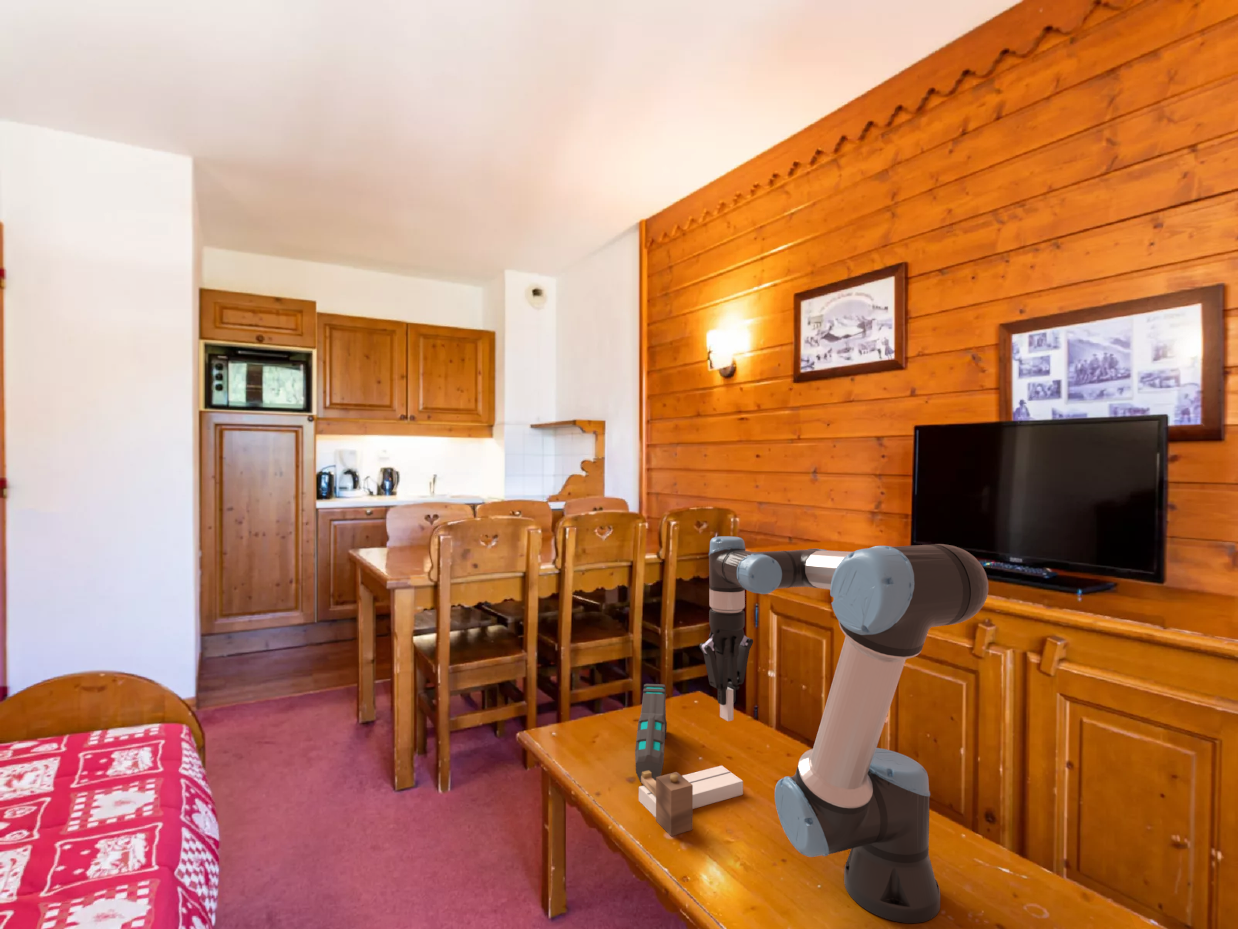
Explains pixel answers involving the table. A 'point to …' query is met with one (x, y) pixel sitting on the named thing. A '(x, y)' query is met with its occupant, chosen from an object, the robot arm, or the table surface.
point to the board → (702, 788)
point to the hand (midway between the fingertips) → (726, 718)
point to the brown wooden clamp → (671, 801)
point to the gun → (651, 731)
